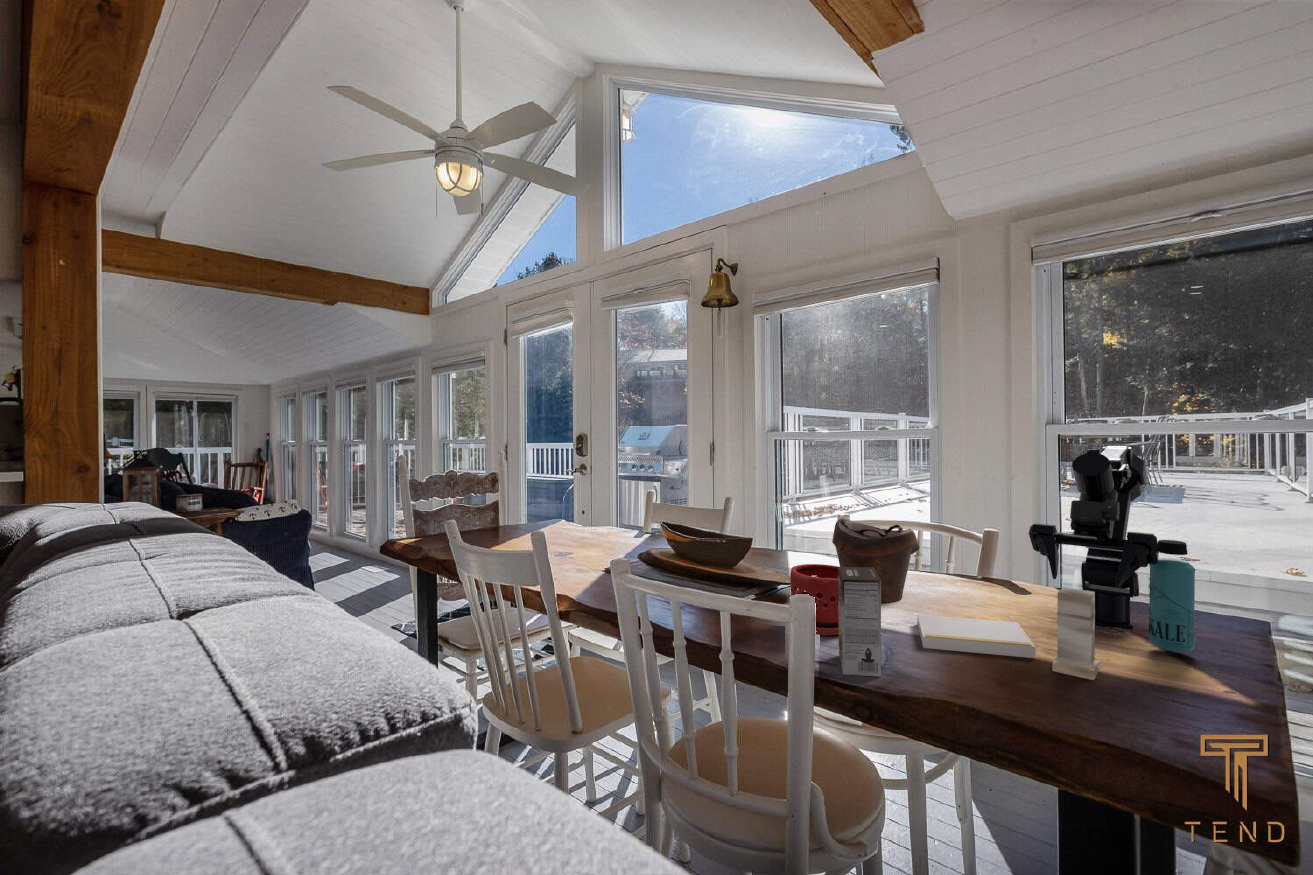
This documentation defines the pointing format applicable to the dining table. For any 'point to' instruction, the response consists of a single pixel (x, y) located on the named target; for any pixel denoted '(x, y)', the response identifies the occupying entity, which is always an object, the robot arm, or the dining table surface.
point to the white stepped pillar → (1076, 634)
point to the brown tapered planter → (877, 553)
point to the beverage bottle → (1172, 599)
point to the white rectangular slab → (974, 636)
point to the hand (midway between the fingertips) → (1084, 582)
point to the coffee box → (859, 621)
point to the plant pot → (819, 593)
